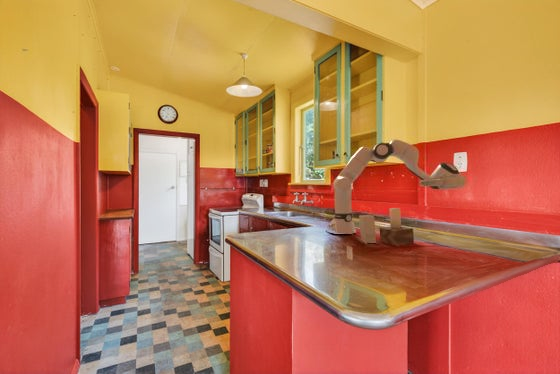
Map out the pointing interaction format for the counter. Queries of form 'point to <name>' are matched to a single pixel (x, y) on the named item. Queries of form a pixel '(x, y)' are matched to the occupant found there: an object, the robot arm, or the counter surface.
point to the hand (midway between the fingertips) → (427, 183)
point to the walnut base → (397, 236)
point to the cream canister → (395, 218)
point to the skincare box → (367, 228)
